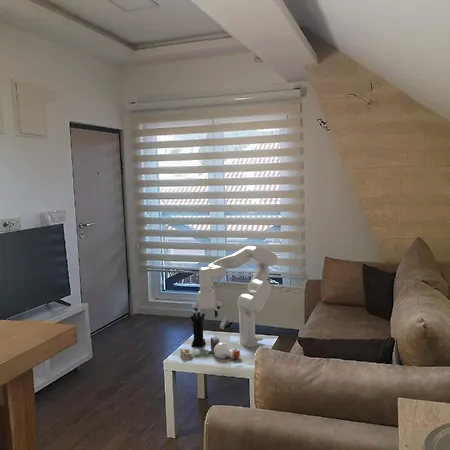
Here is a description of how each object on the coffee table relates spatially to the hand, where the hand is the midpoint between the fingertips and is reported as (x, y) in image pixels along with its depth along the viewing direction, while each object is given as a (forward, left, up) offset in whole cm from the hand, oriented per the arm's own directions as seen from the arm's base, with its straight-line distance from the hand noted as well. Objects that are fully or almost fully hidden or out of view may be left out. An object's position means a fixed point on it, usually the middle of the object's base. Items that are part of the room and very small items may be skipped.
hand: (207, 317), depth 274 cm
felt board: (+4, +2, -22) cm, 22 cm away
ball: (+7, +2, -19) cm, 20 cm away
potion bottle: (-7, +11, -22) cm, 26 cm away
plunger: (-1, +2, -20) cm, 20 cm away
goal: (+13, +2, -21) cm, 25 cm away
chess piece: (+1, -15, -22) cm, 27 cm away
